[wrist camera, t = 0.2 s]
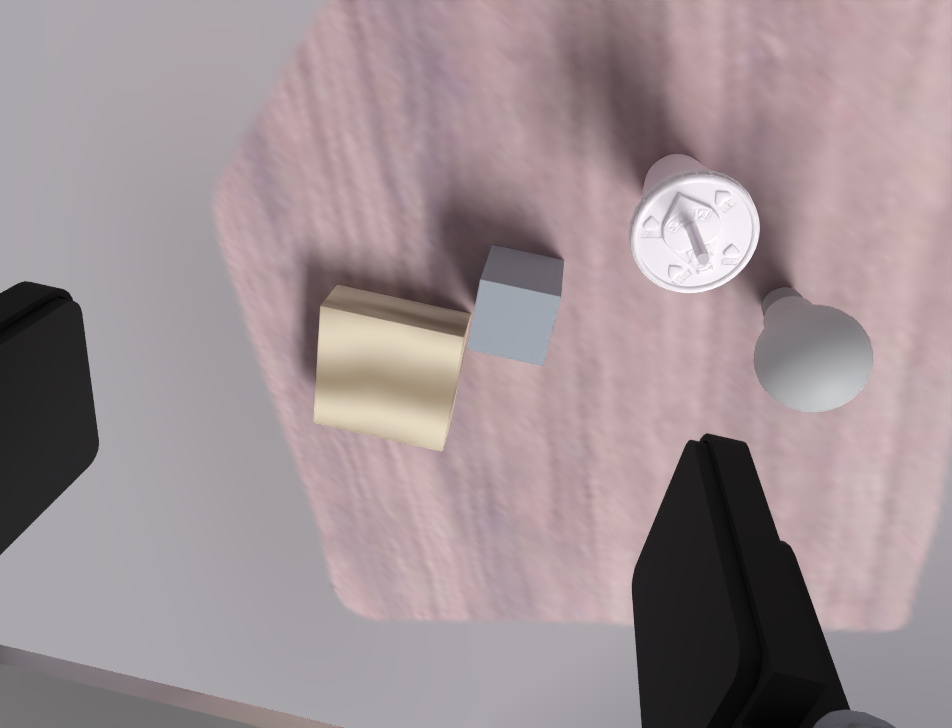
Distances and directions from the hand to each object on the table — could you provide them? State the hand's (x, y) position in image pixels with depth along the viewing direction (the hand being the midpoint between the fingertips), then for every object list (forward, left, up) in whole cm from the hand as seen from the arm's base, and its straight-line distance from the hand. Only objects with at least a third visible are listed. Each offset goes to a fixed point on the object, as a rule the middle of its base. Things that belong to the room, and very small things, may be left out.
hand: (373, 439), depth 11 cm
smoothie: (+4, +10, -36) cm, 38 cm away
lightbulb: (+10, +19, -36) cm, 42 cm away
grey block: (+13, +2, -36) cm, 39 cm away
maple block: (+21, -6, -37) cm, 43 cm away
